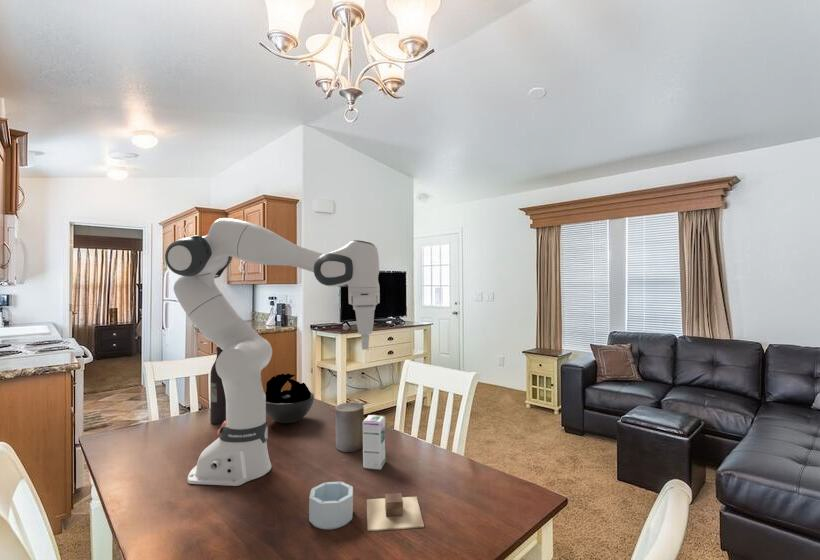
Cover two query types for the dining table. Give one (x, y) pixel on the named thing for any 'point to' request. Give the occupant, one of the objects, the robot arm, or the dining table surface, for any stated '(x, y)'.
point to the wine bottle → (217, 395)
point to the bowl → (331, 505)
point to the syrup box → (374, 442)
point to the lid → (393, 513)
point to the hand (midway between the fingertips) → (364, 346)
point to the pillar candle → (349, 426)
